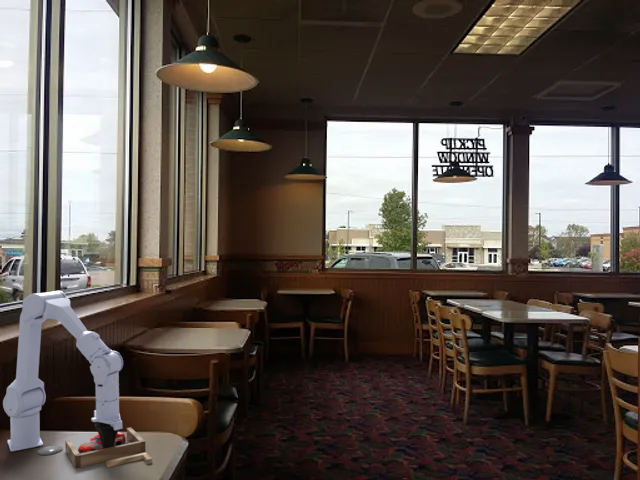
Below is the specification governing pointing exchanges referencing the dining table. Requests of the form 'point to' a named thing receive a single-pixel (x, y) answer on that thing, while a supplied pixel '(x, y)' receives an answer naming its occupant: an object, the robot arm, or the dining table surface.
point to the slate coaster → (50, 450)
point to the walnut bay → (106, 451)
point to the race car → (96, 443)
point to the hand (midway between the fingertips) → (108, 450)
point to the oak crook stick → (130, 459)
